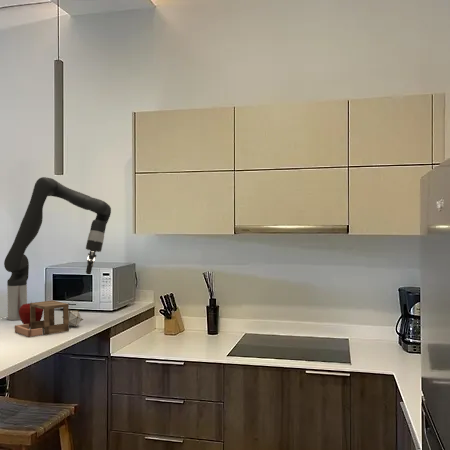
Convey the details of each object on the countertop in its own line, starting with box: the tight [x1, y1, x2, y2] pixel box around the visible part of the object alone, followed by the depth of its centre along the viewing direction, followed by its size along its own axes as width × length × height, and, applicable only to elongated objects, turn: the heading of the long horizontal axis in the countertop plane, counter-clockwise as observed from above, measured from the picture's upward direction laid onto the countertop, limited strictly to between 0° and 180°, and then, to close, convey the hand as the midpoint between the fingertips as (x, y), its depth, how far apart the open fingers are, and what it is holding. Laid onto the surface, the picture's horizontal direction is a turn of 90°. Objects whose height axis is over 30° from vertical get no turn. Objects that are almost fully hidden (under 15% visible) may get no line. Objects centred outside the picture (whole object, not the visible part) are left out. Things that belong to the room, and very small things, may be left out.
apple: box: [19, 302, 44, 328], centre depth 241 cm, size 11×11×12 cm
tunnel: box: [29, 299, 70, 336], centre depth 230 cm, size 16×11×12 cm
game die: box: [61, 308, 84, 328], centre depth 238 cm, size 9×8×10 cm
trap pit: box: [14, 323, 44, 338], centre depth 224 cm, size 15×6×3 cm, turn 44°
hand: (88, 273), depth 246 cm, fingers open, 8 cm apart
